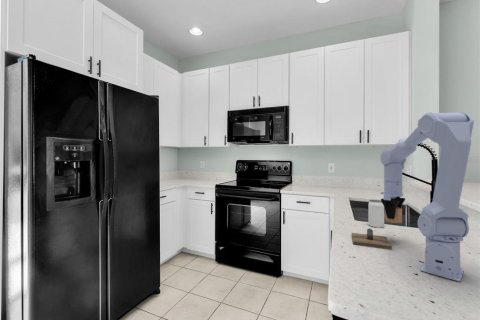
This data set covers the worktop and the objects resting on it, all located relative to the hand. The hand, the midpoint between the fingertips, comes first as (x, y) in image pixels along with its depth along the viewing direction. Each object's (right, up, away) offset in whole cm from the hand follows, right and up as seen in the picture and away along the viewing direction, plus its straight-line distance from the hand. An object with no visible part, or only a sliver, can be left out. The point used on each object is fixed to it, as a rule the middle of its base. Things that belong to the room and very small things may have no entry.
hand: (393, 217), depth 87 cm
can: (+7, -10, +22) cm, 25 cm away
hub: (0, -2, 0) cm, 2 cm away
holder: (-9, -9, 0) cm, 13 cm away
